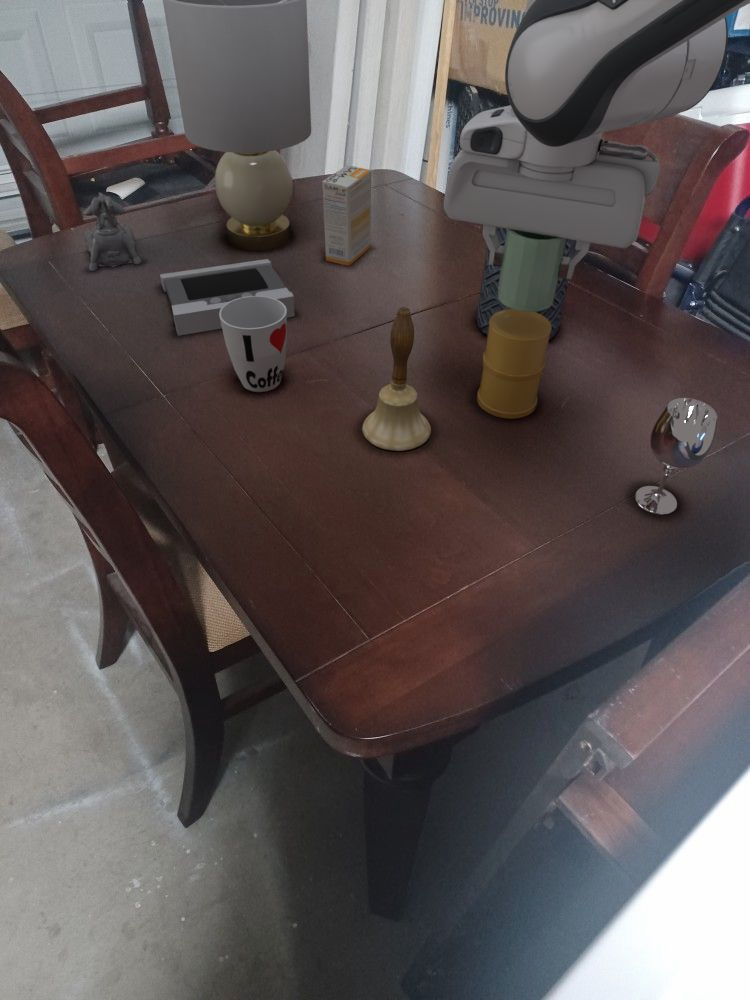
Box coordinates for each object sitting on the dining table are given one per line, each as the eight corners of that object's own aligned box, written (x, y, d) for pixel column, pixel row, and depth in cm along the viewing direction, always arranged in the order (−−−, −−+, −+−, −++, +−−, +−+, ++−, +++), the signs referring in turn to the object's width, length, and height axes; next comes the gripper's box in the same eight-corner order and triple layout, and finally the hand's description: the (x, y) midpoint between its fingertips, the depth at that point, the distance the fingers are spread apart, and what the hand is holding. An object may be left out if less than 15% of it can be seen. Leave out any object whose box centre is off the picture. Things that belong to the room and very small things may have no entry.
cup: (242, 405, 87) (232, 335, 80) (221, 372, 92) (210, 304, 86) (301, 388, 90) (296, 319, 83) (278, 358, 95) (272, 290, 88)
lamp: (177, 244, 120) (130, -6, 96) (251, 206, 133) (226, -23, 108) (269, 274, 113) (244, 12, 88) (338, 231, 125) (333, -9, 101)
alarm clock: (173, 315, 96) (156, 256, 106) (179, 343, 100) (161, 283, 110) (293, 296, 101) (265, 241, 111) (294, 323, 104) (267, 268, 114)
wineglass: (625, 510, 75) (658, 421, 67) (632, 477, 79) (664, 389, 70) (681, 525, 73) (722, 436, 65) (685, 490, 77) (724, 402, 69)
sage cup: (558, 291, 80) (573, 222, 75) (547, 316, 76) (562, 245, 70) (504, 281, 82) (515, 212, 76) (491, 305, 78) (501, 235, 72)
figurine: (135, 240, 122) (121, 175, 114) (142, 264, 115) (127, 197, 107) (85, 246, 119) (67, 181, 112) (89, 271, 113) (71, 203, 105)
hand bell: (383, 401, 88) (387, 284, 77) (442, 422, 85) (454, 304, 74) (349, 437, 83) (347, 316, 72) (410, 460, 80) (418, 339, 69)
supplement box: (347, 242, 122) (346, 163, 113) (371, 248, 120) (372, 168, 111) (324, 261, 117) (320, 180, 108) (349, 267, 115) (348, 185, 106)
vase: (558, 352, 97) (607, 133, 78) (471, 341, 99) (498, 125, 79) (559, 309, 106) (604, 103, 86) (479, 301, 108) (506, 96, 88)
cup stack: (541, 391, 91) (558, 315, 83) (529, 424, 85) (546, 346, 78) (485, 378, 92) (496, 302, 85) (469, 410, 87) (480, 333, 80)
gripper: (669, 138, 67) (629, 274, 76) (463, 112, 72) (450, 243, 81) (663, 159, 62) (622, 300, 72) (445, 129, 67) (434, 265, 77)
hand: (530, 270), depth 77 cm, fingers closed on sage cup, 6 cm apart
